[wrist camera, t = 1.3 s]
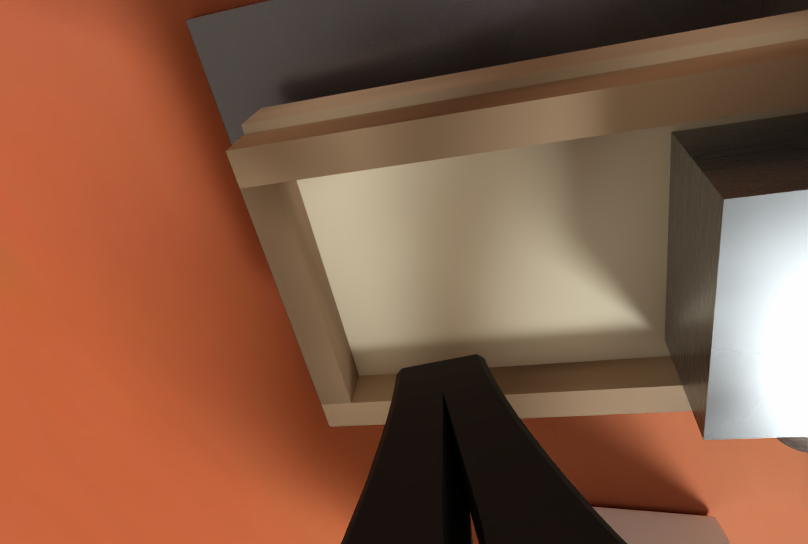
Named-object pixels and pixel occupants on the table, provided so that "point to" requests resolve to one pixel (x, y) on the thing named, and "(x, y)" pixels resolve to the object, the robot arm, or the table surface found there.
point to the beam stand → (422, 43)
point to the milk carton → (663, 527)
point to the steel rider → (740, 276)
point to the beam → (501, 216)
